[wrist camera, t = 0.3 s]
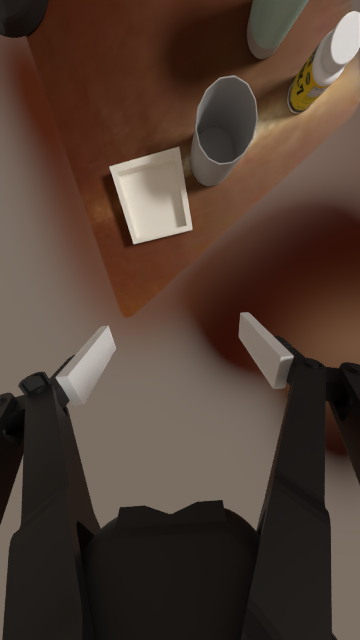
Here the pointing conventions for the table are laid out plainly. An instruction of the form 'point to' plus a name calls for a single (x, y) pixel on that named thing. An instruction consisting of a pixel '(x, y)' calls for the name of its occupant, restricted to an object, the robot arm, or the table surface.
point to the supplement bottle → (325, 63)
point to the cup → (222, 129)
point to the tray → (153, 195)
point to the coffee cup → (271, 24)
